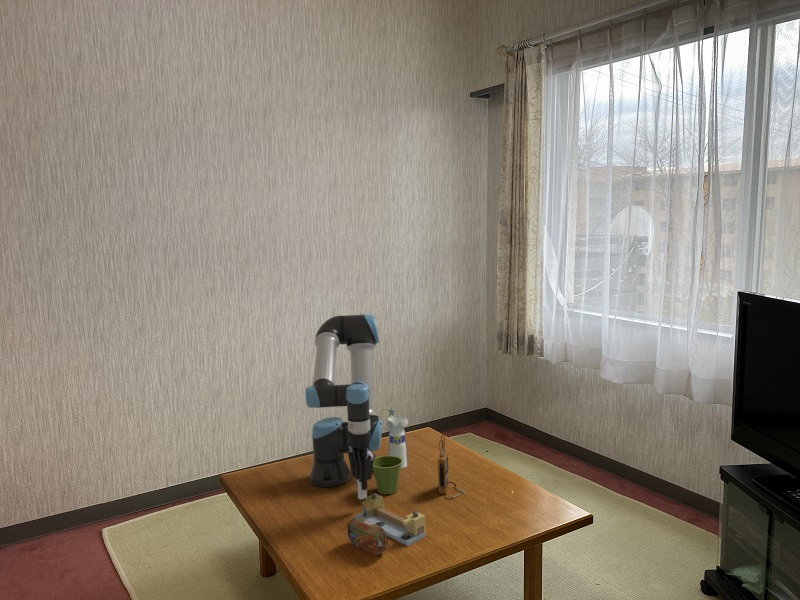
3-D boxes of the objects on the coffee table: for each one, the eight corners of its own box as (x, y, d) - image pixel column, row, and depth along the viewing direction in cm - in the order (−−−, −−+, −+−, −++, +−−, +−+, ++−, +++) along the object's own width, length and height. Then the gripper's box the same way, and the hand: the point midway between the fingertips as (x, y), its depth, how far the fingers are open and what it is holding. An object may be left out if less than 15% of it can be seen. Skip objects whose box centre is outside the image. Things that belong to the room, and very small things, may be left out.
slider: (359, 514, 206) (358, 496, 205) (375, 507, 210) (375, 489, 210) (367, 518, 203) (366, 500, 202) (383, 510, 207) (383, 493, 207)
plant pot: (408, 485, 230) (407, 456, 228) (397, 499, 219) (396, 469, 217) (378, 482, 234) (377, 453, 232) (366, 495, 223) (365, 466, 221)
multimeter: (465, 500, 216) (464, 445, 213) (437, 499, 218) (435, 444, 215) (469, 482, 230) (468, 431, 228) (442, 481, 232) (441, 430, 230)
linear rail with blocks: (355, 519, 206) (354, 497, 205) (374, 510, 211) (373, 489, 210) (407, 546, 188) (406, 522, 187) (426, 535, 193) (426, 512, 192)
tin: (347, 543, 191) (346, 517, 190) (354, 539, 193) (353, 513, 192) (383, 559, 181) (381, 532, 180) (390, 555, 183) (389, 528, 182)
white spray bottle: (409, 468, 245) (407, 407, 242) (388, 469, 245) (385, 408, 242) (409, 460, 253) (407, 401, 250) (388, 461, 254) (386, 402, 250)
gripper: (338, 429, 210) (342, 495, 213) (363, 438, 201) (366, 507, 204) (355, 424, 216) (358, 488, 219) (380, 432, 206) (383, 499, 209)
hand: (362, 497), depth 211 cm, fingers closed
